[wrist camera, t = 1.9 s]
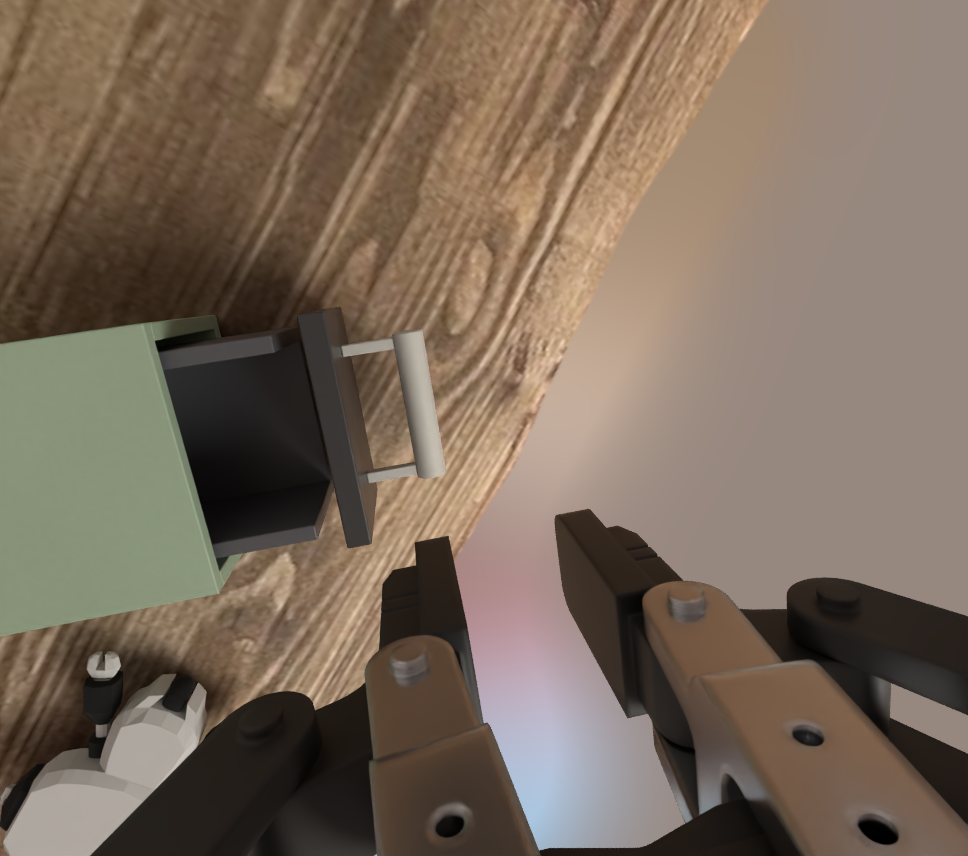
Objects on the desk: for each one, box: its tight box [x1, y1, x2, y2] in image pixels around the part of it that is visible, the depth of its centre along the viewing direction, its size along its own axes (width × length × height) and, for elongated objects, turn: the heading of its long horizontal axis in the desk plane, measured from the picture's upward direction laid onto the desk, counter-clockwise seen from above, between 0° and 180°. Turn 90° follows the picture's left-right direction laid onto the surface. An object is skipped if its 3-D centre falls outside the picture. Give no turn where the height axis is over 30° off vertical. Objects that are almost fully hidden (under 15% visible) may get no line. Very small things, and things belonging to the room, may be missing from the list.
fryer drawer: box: [156, 307, 446, 558], centre depth 31 cm, size 18×11×8 cm, turn 98°
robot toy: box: [0, 651, 219, 856], centre depth 37 cm, size 12×4×15 cm
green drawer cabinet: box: [0, 315, 243, 636], centre depth 30 cm, size 15×13×10 cm
